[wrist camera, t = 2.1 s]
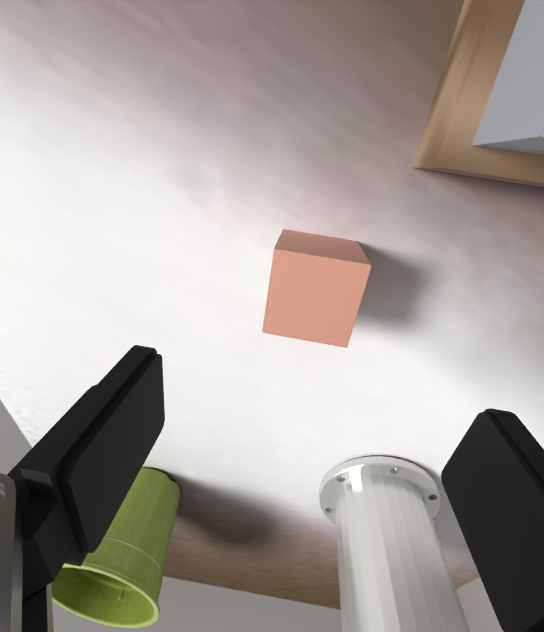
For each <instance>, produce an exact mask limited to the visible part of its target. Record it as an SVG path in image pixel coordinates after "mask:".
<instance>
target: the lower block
mask: <svg viewBox="0 0 544 632" xmlns="http://www.w3.org/2000/svg"><path fill="white" fill-rule="evenodd" d="M524 2H525V0H465V1H464V4H463V8H462V11H461V14H460V17H459V20H458V24H457V27H456V30H455V33H454V36H453V40H452V43H451V46H450V49H449V52H448V56H447V59H446V62H445V65H444V69H443V72H442V75H441V78H440V81H439V85H438V88H437V91H436V94H435V97H434V101H433V104H432V107H431V110H430V113H429V117H428V120H427V123H426V126H425V129H424V133H423V136H422V139H421V142H420V146H419V149H418V152H417V155H416V158H415V162H414V165H413V168H419V169H426V170H433V171H439V172H446V173H453V174H459V175H466V176H473V177H479V178H486V179H493V180H500V181H506V182H513V183H520V184H526V185H533V186H540V187H544V155H539V154H531V153H523V152H516V151H508V150H500V149H493V148H485V147H477V146H472V143H473V140H474V138H475V135H476V132H477V130H478V127H479V124H480V121H481V119H482V116H483V113H484V111H485V108H486V105H487V102H488V100H489V97H490V94H491V91H492V89H493V86H494V83H495V81H496V78H497V75H498V72H499V70H500V67H501V64H502V62H503V59H504V56H505V53H506V51H507V48H508V45H509V43H510V40H511V37H512V34H513V32H514V29H515V26H516V23H517V21H518V18H519V15H520V13H521V10H522V7H523V4H524Z"/></svg>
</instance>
